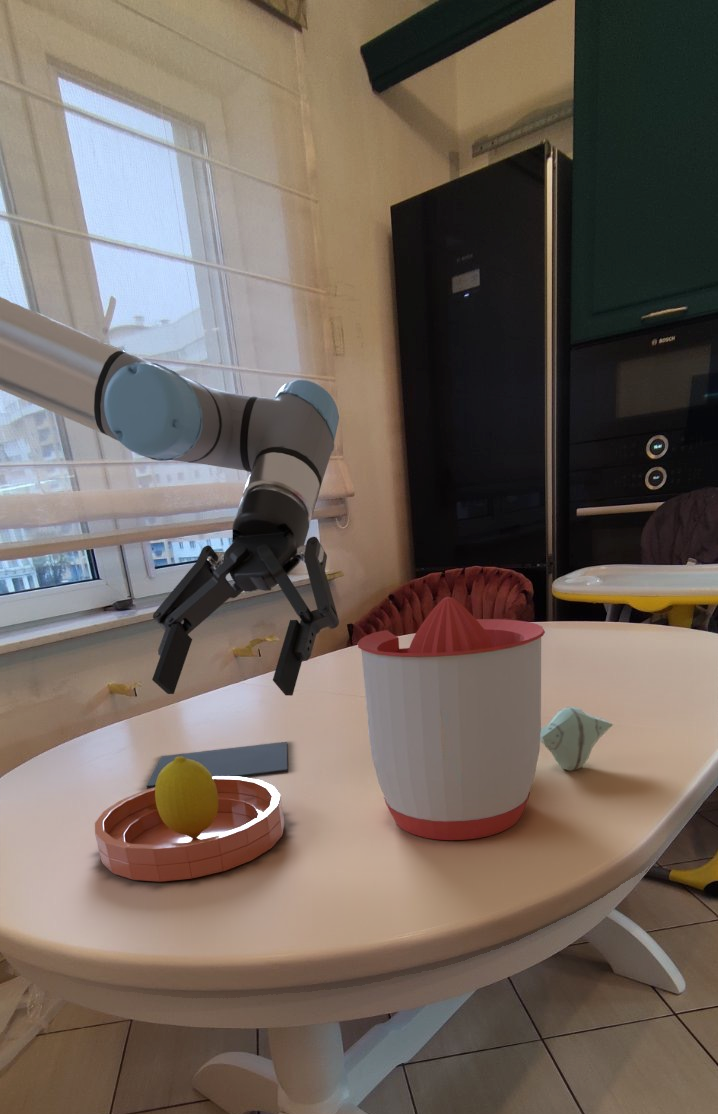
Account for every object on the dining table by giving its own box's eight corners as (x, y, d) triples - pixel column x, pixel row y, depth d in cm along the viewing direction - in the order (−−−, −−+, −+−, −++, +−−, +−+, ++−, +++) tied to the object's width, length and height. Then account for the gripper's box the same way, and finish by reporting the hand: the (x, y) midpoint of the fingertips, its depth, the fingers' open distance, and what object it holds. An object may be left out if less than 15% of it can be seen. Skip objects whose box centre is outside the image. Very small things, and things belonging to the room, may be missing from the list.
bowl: (65, 863, 66) (56, 828, 64) (198, 798, 78) (192, 768, 77) (192, 903, 57) (184, 864, 55) (320, 823, 69) (315, 789, 68)
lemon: (228, 843, 65) (213, 760, 62) (165, 856, 64) (147, 771, 61) (221, 821, 70) (207, 743, 67) (163, 832, 69) (146, 753, 66)
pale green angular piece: (545, 783, 73) (545, 718, 71) (526, 770, 77) (526, 709, 75) (615, 769, 75) (618, 706, 72) (593, 758, 79) (595, 697, 76)
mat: (147, 791, 82) (146, 786, 82) (162, 760, 92) (161, 756, 92) (288, 774, 83) (287, 769, 83) (287, 746, 93) (286, 741, 93)
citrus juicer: (480, 771, 78) (475, 579, 71) (579, 829, 63) (585, 591, 55) (344, 801, 74) (323, 599, 66) (415, 871, 58) (397, 618, 51)
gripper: (397, 528, 74) (353, 709, 67) (197, 545, 84) (140, 705, 77) (373, 471, 68) (322, 665, 61) (159, 497, 78) (94, 666, 71)
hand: (220, 688), depth 69 cm, fingers open, 13 cm apart
